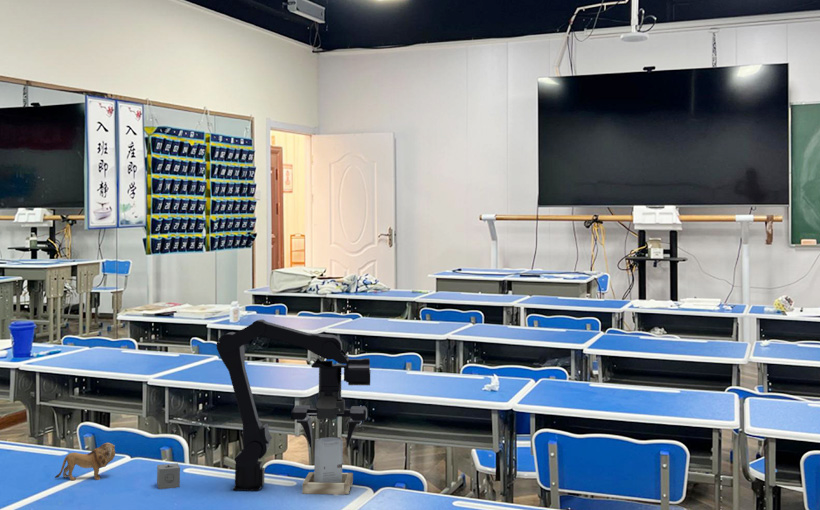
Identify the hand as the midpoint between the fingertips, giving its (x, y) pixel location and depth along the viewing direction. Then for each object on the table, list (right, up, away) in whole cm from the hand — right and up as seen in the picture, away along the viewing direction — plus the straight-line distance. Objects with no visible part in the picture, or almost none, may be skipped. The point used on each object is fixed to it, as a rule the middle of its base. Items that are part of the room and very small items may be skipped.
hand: (329, 447), depth 210 cm
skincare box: (0, -10, 0) cm, 10 cm away
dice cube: (-41, -10, 0) cm, 42 cm away
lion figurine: (-64, -10, +7) cm, 65 cm away
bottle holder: (0, -10, 0) cm, 10 cm away
